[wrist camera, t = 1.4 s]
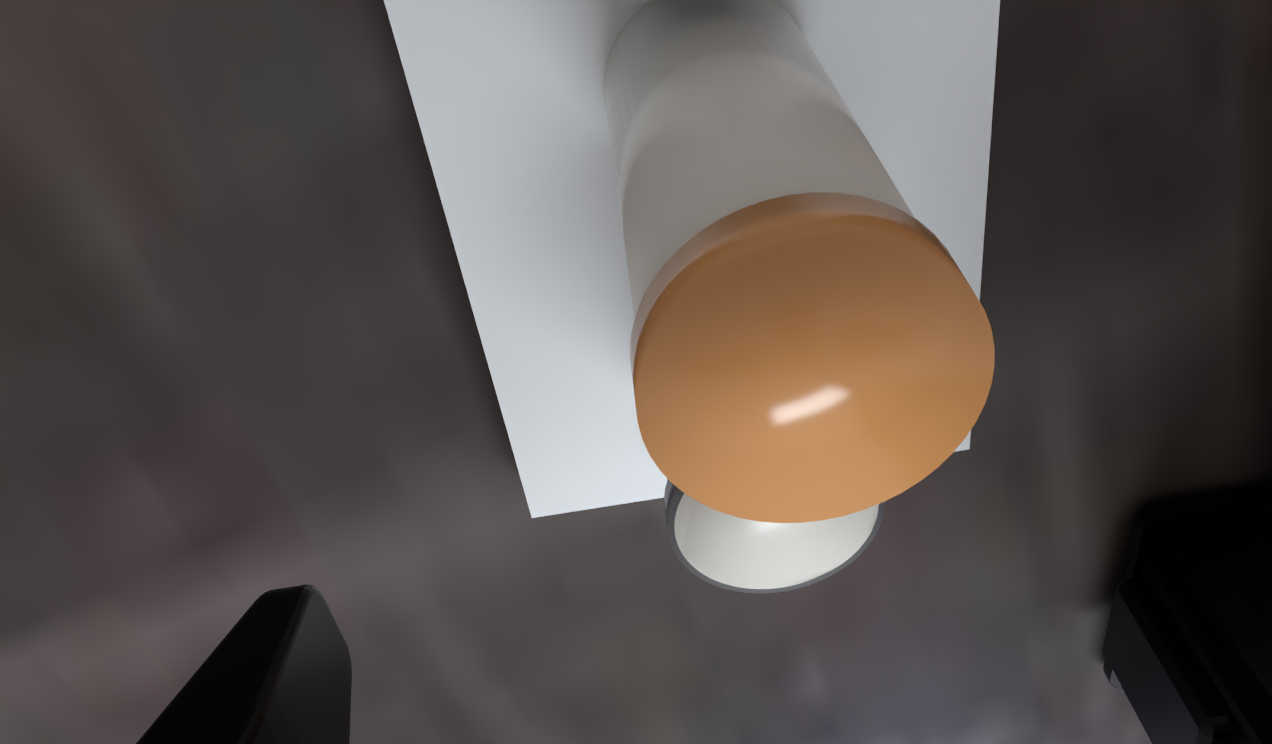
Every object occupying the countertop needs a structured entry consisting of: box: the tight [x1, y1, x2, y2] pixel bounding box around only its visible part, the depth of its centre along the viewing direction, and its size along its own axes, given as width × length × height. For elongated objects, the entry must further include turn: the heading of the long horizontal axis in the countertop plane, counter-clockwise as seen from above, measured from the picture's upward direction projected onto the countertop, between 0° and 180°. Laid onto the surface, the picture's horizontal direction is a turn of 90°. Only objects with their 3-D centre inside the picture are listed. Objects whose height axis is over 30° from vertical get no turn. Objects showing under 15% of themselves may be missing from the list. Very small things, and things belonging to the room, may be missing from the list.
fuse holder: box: [384, 0, 1000, 593], centre depth 15 cm, size 9×17×5 cm, turn 8°
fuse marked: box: [604, 0, 995, 523], centre depth 13 cm, size 3×3×8 cm
